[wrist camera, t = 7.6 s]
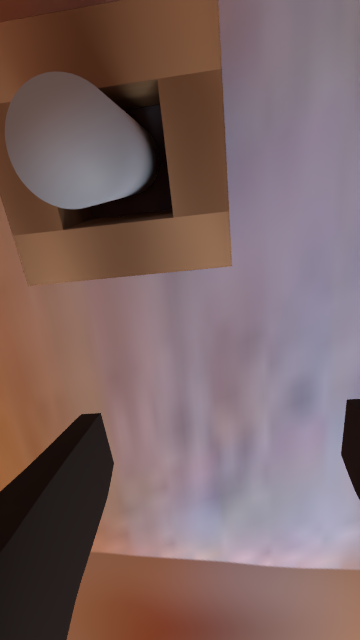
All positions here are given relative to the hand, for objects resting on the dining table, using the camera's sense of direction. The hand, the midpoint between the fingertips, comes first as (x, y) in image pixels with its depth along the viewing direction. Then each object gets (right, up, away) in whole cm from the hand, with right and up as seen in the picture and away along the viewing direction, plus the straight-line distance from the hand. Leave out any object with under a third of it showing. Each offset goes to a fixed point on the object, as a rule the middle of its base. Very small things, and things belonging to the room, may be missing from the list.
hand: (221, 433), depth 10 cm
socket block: (-4, +11, +6) cm, 13 cm away
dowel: (-4, +11, +6) cm, 13 cm away
